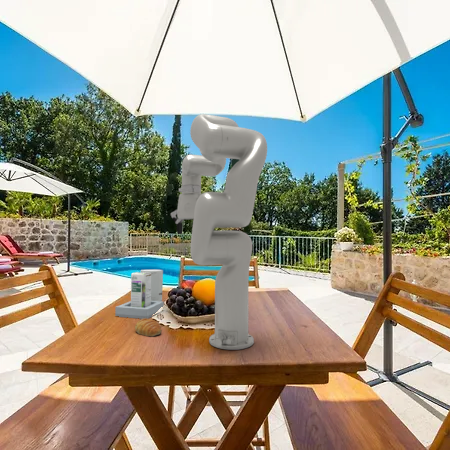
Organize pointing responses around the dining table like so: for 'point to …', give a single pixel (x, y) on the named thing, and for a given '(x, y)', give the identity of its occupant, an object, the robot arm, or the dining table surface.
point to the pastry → (148, 327)
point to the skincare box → (156, 284)
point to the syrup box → (140, 289)
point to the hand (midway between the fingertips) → (191, 234)
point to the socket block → (138, 310)
